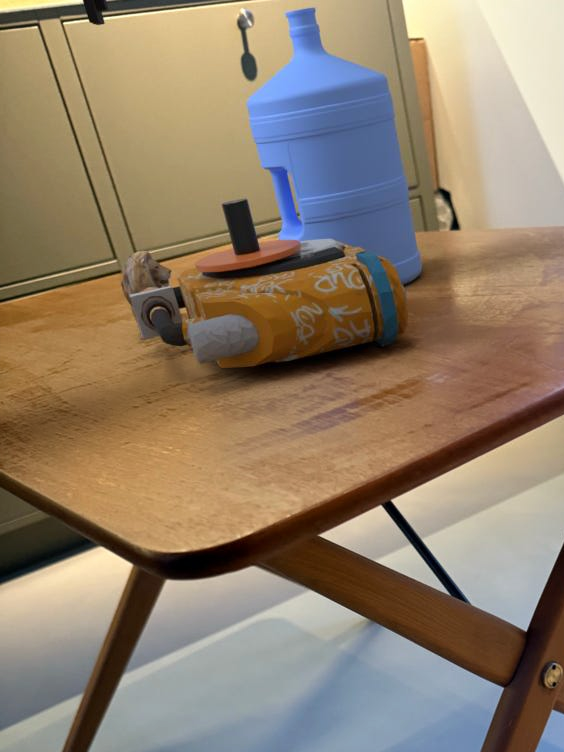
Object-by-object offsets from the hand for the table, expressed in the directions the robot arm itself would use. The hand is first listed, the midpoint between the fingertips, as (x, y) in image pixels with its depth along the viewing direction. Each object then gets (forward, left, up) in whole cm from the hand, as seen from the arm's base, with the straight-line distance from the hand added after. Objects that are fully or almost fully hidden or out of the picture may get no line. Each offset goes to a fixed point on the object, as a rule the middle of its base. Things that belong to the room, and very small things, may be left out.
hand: (35, 35), depth 81 cm
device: (+11, +8, -28) cm, 32 cm away
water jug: (+21, +30, -28) cm, 46 cm away
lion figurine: (-2, +28, -28) cm, 40 cm away
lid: (+11, +8, -20) cm, 24 cm away
